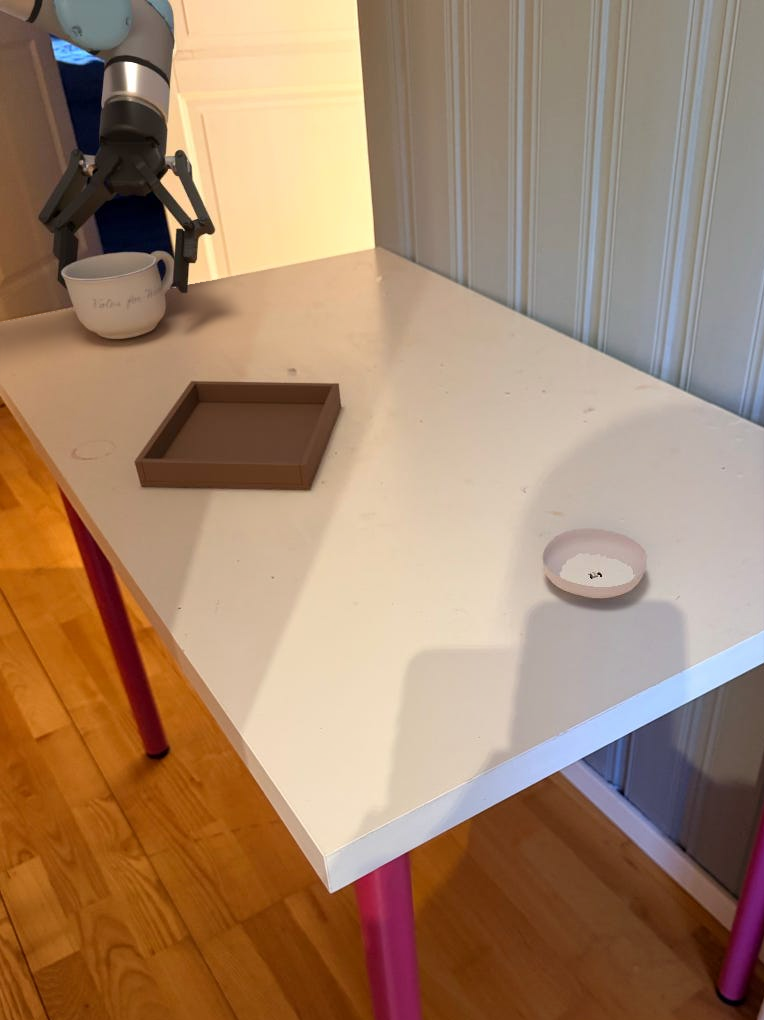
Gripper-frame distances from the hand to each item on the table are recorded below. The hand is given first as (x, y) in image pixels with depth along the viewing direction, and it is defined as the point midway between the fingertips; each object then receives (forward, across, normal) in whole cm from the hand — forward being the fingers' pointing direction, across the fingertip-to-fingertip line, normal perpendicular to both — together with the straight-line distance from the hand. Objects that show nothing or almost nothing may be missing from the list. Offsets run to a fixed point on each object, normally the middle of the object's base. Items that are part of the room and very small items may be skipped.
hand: (122, 287), depth 108 cm
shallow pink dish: (+39, -53, +32) cm, 73 cm away
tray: (+24, -21, +17) cm, 36 cm away
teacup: (+3, 0, -5) cm, 6 cm away
